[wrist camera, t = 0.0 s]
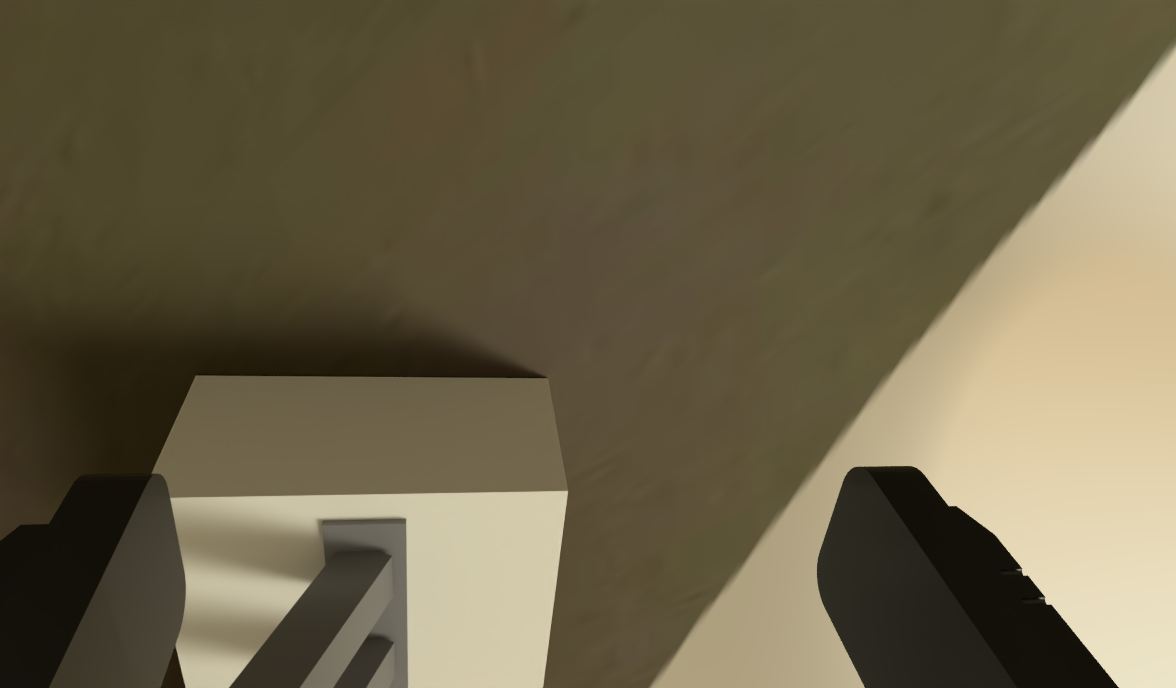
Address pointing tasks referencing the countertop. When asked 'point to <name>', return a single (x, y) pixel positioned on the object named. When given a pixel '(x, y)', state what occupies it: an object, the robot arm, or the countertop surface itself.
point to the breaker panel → (366, 531)
